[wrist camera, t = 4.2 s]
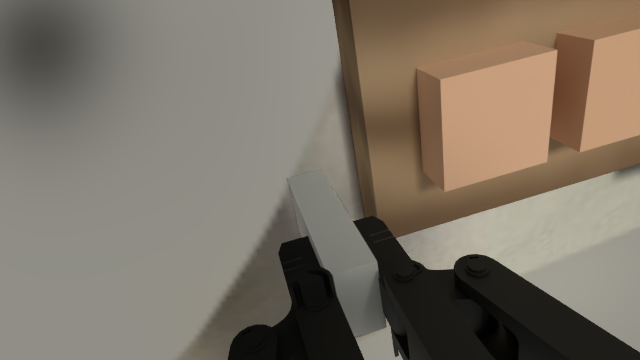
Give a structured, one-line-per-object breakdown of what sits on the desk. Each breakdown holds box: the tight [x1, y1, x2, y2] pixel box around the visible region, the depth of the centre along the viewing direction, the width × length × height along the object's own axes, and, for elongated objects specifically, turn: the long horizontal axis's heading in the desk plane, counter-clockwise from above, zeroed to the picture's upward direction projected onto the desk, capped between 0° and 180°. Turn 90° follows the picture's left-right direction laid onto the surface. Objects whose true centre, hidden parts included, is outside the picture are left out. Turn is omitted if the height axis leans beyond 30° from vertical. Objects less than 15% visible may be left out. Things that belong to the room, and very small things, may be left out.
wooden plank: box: [332, 0, 640, 238], centre depth 25 cm, size 14×20×3 cm
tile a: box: [416, 41, 558, 192], centre depth 22 cm, size 6×6×2 cm
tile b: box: [550, 12, 640, 152], centre depth 24 cm, size 6×6×2 cm
